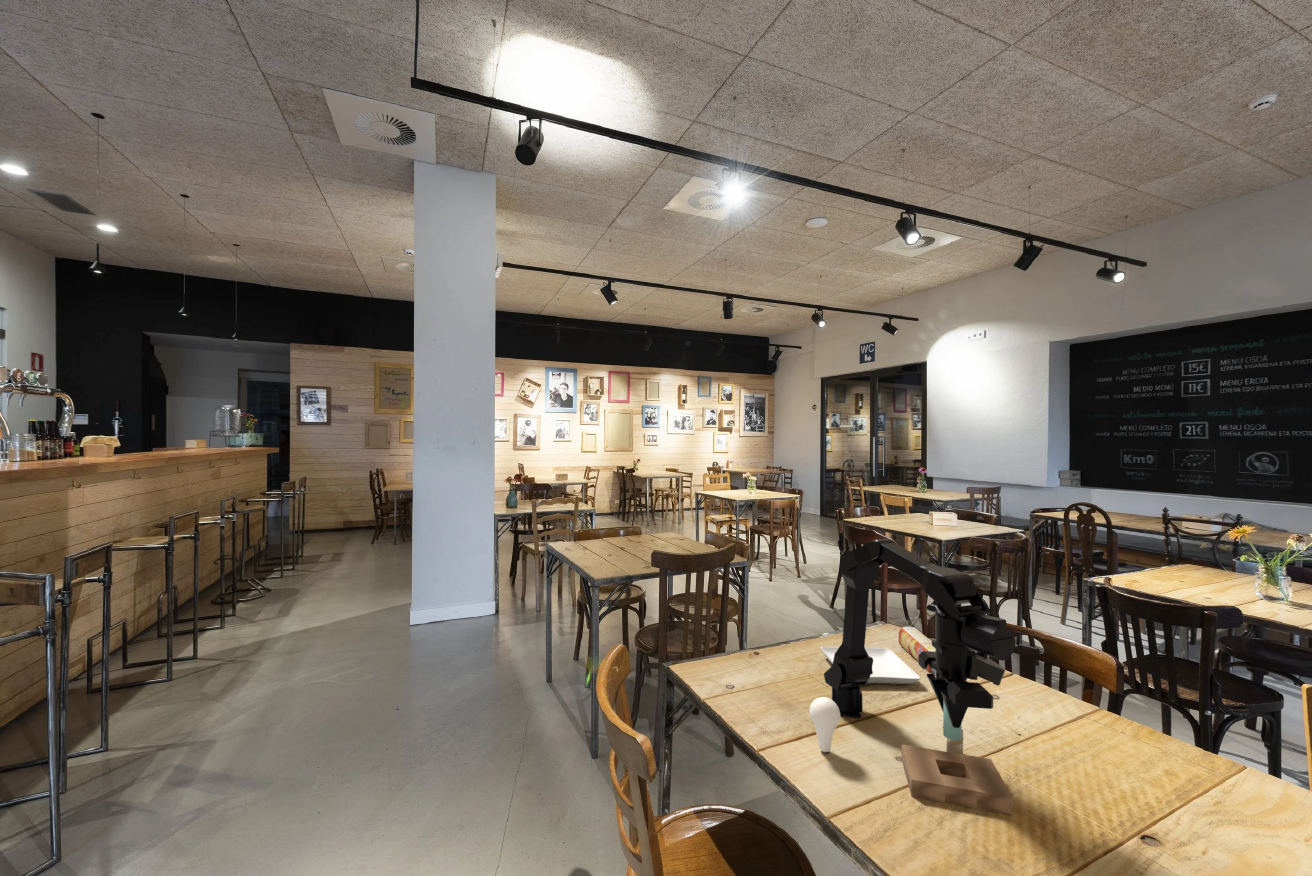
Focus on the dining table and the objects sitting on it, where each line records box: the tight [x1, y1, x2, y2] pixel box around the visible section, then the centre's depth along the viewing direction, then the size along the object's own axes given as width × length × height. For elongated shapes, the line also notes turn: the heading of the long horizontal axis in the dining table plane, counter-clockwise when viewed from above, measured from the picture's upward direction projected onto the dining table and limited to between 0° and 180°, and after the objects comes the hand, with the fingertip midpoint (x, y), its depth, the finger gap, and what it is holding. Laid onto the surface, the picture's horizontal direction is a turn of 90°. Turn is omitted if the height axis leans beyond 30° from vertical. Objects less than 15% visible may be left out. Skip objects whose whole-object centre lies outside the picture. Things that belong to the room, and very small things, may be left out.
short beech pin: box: [946, 729, 964, 755], centre depth 111 cm, size 3×3×5 cm
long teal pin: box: [942, 690, 963, 741], centre depth 100 cm, size 3×3×8 cm
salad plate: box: [820, 646, 921, 685], centre depth 151 cm, size 21×21×3 cm
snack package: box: [897, 626, 936, 673], centre depth 161 cm, size 21×7×7 cm, turn 177°
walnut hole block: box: [901, 744, 1013, 816], centre depth 100 cm, size 16×12×3 cm
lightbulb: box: [809, 696, 841, 753], centre depth 111 cm, size 6×6×11 cm
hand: (952, 722), depth 100 cm, fingers closed on long teal pin, 3 cm apart
